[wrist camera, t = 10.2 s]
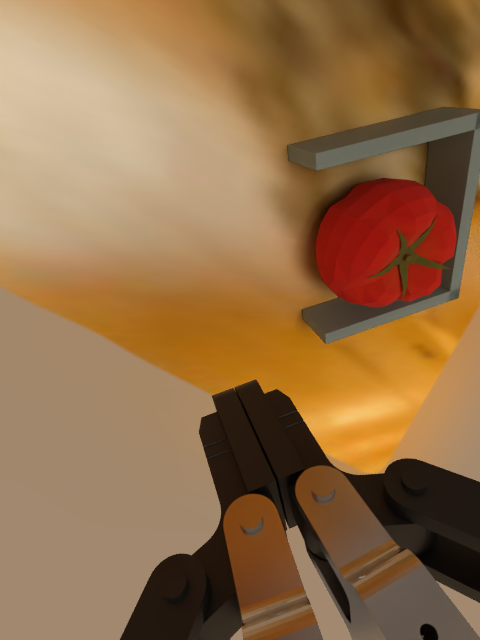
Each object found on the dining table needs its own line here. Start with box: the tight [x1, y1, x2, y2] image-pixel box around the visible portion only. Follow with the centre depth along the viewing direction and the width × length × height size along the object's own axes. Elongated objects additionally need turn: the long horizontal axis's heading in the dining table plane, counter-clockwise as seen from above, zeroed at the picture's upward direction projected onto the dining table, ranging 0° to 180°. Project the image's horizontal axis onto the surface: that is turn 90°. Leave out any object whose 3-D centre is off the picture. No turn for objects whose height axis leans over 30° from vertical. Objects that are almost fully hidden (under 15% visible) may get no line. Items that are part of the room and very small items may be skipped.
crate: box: [287, 107, 480, 344], centre depth 36 cm, size 15×17×5 cm
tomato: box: [316, 178, 456, 308], centre depth 35 cm, size 11×12×9 cm
